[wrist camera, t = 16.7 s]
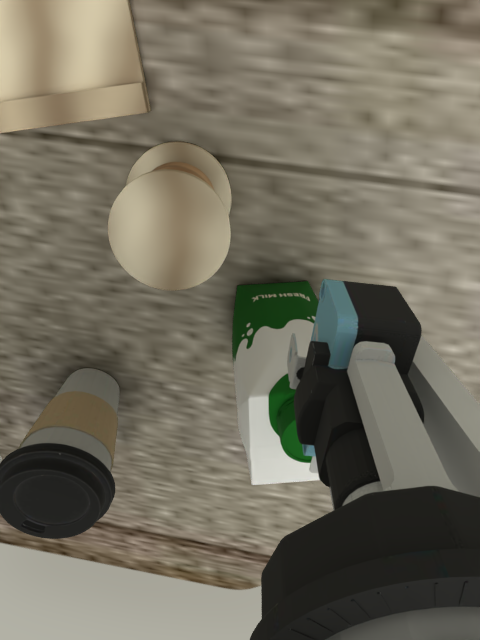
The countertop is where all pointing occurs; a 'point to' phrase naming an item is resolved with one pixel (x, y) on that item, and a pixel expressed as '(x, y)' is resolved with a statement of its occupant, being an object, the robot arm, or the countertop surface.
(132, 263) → the bobbin
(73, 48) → the terminal board
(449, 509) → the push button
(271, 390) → the milk carton
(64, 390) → the coffee cup
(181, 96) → the countertop surface
